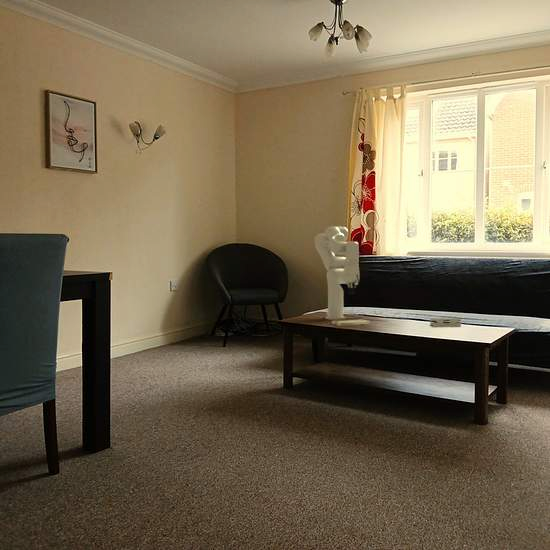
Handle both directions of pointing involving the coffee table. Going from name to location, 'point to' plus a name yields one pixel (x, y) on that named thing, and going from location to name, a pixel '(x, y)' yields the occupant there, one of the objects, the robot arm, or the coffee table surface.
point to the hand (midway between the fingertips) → (351, 294)
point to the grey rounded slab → (440, 322)
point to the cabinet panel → (349, 321)
